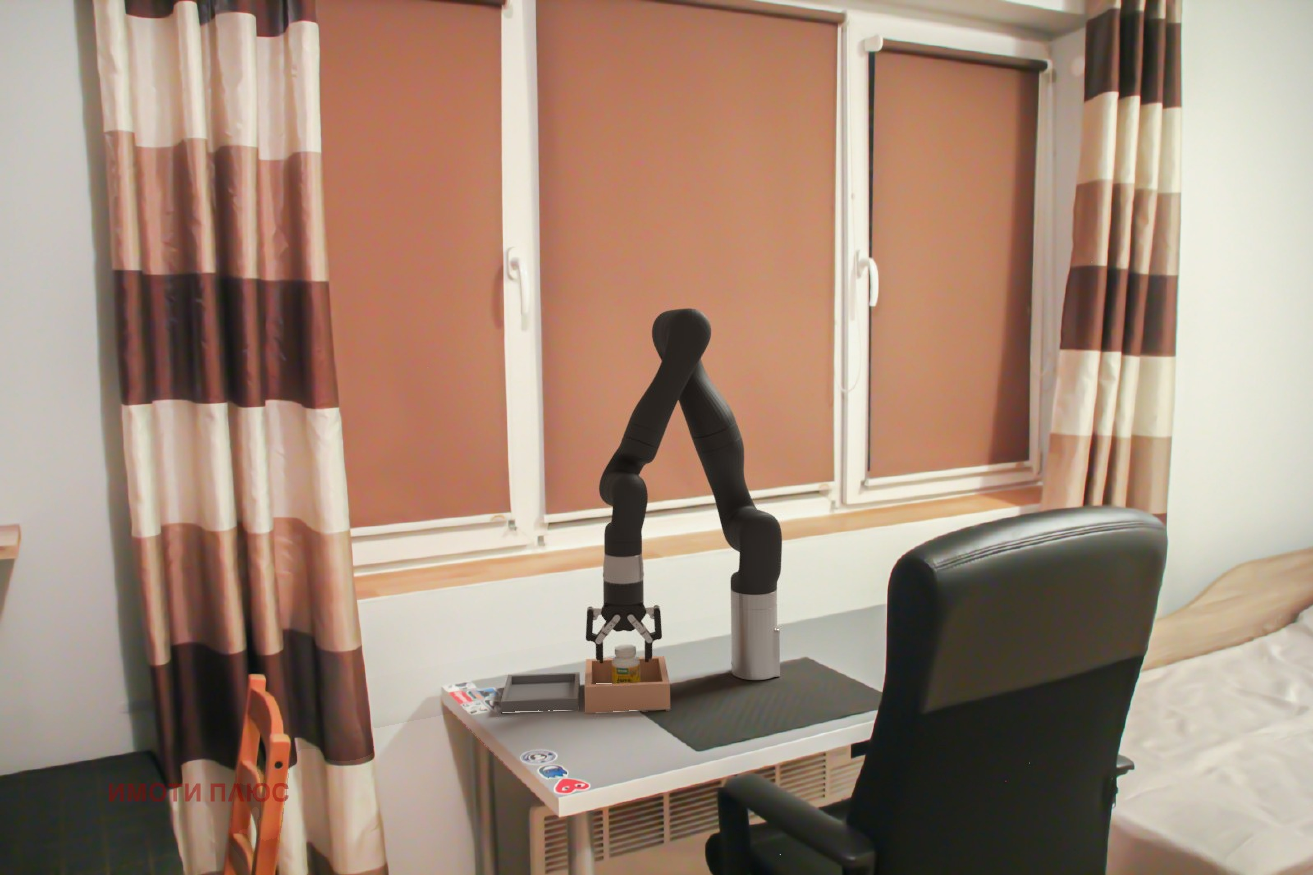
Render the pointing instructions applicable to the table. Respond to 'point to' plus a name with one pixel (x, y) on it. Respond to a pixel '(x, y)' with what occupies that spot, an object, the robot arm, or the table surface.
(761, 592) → the robot arm
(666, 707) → the box
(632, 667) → the supplement bottle
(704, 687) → the table surface
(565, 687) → the tray
